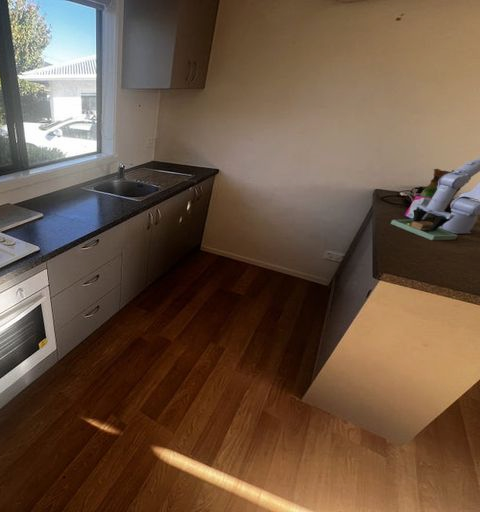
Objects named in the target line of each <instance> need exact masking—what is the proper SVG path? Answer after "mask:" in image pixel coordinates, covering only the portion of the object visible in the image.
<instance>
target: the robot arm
mask: <svg viewBox="0 0 480 512" xmlns="http://www.w3.org/2000/svg"><path fill="white" fill-rule="evenodd" d="M479 172H480V156H479V157H477V158H476V159H474V160H469V161H467V162H465V163H464V164H463V165H461V166H459V167H458V168H457V169H455V170H454V172H452V173H448V174H445V175H443V176H442V177H441V178H440V179H439V181H438V186H437V191H436V193H435V194H434V196H433V197H432V199H431V201H430V202H429V204H428V206H424V205H421V204H416V206H415V208H416V210H414V211H413V212H414V221H413V222H419V221H422V220H421V219H422V218H423V216H424V215H425V214H426V213H427V212H429V213H432V214H435V215H438V216H434V221H433V222H432V223H433V225H432V227H431V228H430V231H435V230H436V229H437V228H439V229H441V230H444V231H447V232H450V233H453V234H455V235H458V234H472V232H471V230H472V229H473V227H474V226H475V224H476V223H477V221H478V216H480V181H479V182H478V183H477V184H476V186H475V187H474V188H472V190H471V191H468V192H467V191H466V192H463V193H461V194H460V195H458V197H456V198H454V197H455V196H454V194H455V193H456V191H457V190H458V189H459V188H461V189H462V188H463V187H464V186H465V185H466V184H468V183H467V181H470V180H471V179H470V177H471V178H472V177H474V176H475V175H476V174H478V173H479ZM469 179H470V180H469ZM453 196H454V197H453ZM452 197H453V198H454V200H453V199H452ZM451 199H452V200H451ZM450 200H451V201H450ZM449 202H450V203H449ZM448 203H449V204H450V206H449V204H448ZM447 206H449V207H450V211H451V212H448V211H446V209H447V208H446V207H447ZM445 208H446V209H445Z"/></svg>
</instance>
